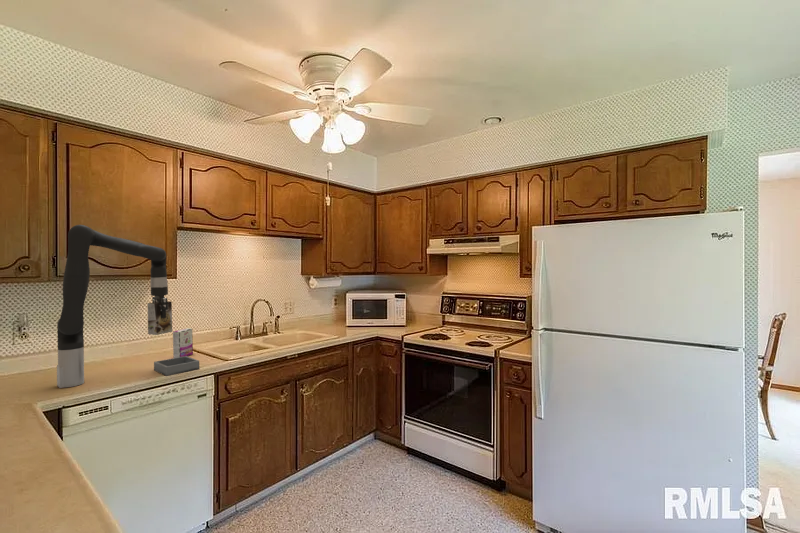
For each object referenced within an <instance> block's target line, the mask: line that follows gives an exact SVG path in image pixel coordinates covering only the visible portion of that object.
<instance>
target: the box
mask: <svg viewBox="0 0 800 533" xmlns="http://www.w3.org/2000/svg"><path fill="white" fill-rule="evenodd" d="M153 370H154V371H155V372H157V373H159V374H160V375H164V376H165V377H169V376H173V375H178V374H183V373H188V372H192V371H197V370H200V360H198V359H195V358H192V357H190V356H183V357H178V358H167V359H162V360H157V361H156V360H155V361H153Z"/></svg>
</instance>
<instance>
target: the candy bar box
mask: <svg viewBox="0 0 800 533" xmlns="http://www.w3.org/2000/svg"><path fill="white" fill-rule="evenodd" d="M193 344H194V343H193V328H187V327H186V328H183V329H178V330H175V331H172V350H173V351H172V352H173V353H172V354H173V355H172V356H173V358H178V357H183V356H187V357H190V356H192V355H194V353H193V352H194V347H193V346H194V345H193Z"/></svg>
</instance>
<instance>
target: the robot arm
mask: <svg viewBox="0 0 800 533" xmlns="http://www.w3.org/2000/svg"><path fill="white" fill-rule="evenodd" d="M67 238H68V239H67V240H68V241H67V242H68V243H67V245H68V246H67V247H68V248H67V249H68V250H67V258H66V262H65V267H64V273H63V280H62V309H61V313H60V317H59V318H58V321H57V325H56V327H57V329H56V330H57V365H56V386H57V387H58V388H59V389H63V388H70V387H71V388H72V387H77V386H79V385H83V384H85V349H84V348H85V338H84V325H85V321H84V307H85V306H84V305H85V302H86V301H85V300H86V297H87V293H88V290H89V288H88V287H89V284H90V278H91V271H90V270H91V269H90V261H89V252H90V251H89V250H90V247H91V246H93V247H100V248H105V249H110V250H113V251H116V252H120V253H122V254H126V255H130V256H133V257H141V258H144V259H146V260H150V281H149V282H150V286H149V287H150V296H151V303H161V305H160V311H161V318H166V310H168V302H169V301H168V298H167V297H165V296H168V295H169V287H168V285H169V284H168V283H169V282H168V270H167V253H166V250H165V249H163V248H161V247H157V246H153V245H150V244H145V243H142V242H139V241H135V240H131V239H126V238H122V237H117V236H111V235H108V234H105V233H102V232H100V231H97V230H95V229H92V228H91V227H89V226H87V225H84V224H77V225H73V226H72V227H71V228H70V229H69V230H68V233H67ZM163 307H164V308H163Z"/></svg>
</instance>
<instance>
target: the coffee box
mask: <svg viewBox="0 0 800 533" xmlns="http://www.w3.org/2000/svg"><path fill="white" fill-rule="evenodd" d="M167 302H168V310H166V318H161V311H160V305H161V303H152V302H148V303H147V335H151V336H152V335H153V336H159V335H163V334H168V333H173V312H172V311H173V310H172V309H173V307H172V306H173V304H172V303H173V302H172V301H167ZM163 308H164V307H163Z"/></svg>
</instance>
